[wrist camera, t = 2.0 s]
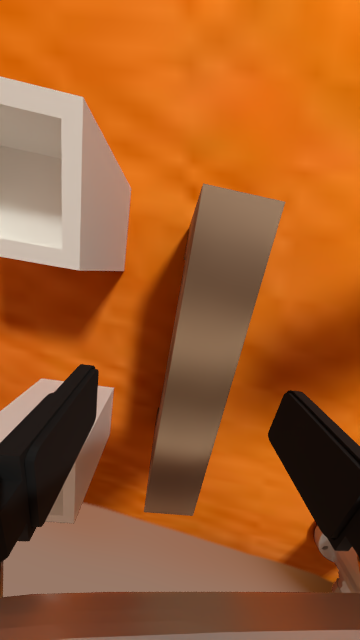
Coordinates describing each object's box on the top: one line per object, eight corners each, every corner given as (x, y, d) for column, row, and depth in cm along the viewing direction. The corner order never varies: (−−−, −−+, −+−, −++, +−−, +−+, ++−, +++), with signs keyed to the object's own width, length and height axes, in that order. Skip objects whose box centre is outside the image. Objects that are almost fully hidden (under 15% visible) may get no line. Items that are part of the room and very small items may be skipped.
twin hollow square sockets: (109, 434, 19) (74, 523, 12) (43, 426, 18) (-33, 516, 12) (131, 188, 13) (83, 97, 6) (32, 167, 12) (-139, 41, 6)
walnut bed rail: (186, 429, 19) (192, 515, 12) (155, 426, 19) (144, 511, 12) (231, 235, 14) (285, 201, 7) (189, 226, 14) (203, 183, 7)
